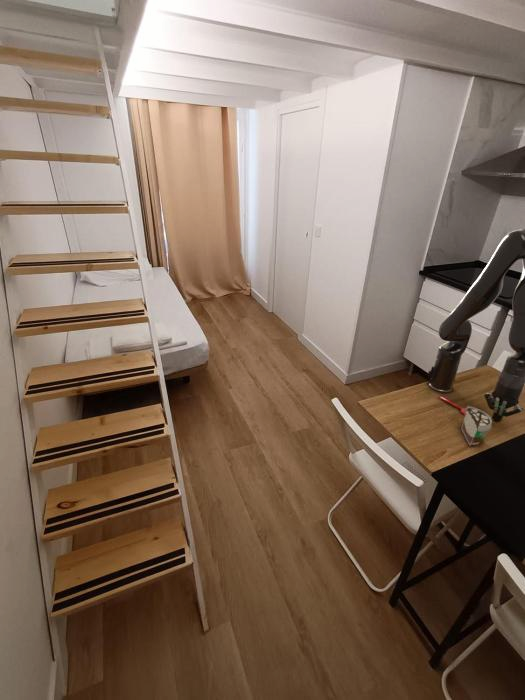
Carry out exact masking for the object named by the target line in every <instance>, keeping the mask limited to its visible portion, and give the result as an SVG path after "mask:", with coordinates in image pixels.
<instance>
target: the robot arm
mask: <svg viewBox="0 0 525 700" xmlns="http://www.w3.org/2000/svg"><path fill="white" fill-rule="evenodd" d="M519 260H521V262H522V271H521V275H520V278H519V280H518V282H517V285H516V287H515V289H514V292H513V296H512V321H511V325H510V328H509V332H508V345H509V346H510V348H511V349H512V350H513V351H514V352H512V353H511V354H509V355H508V356H507V358H506V359H505V362H504V365H503V367H502V370H501V371H500V374H499V376H498V378H497V382H496V384H495V387H494V390H493V391H492V392H487V393H484V396H483V397H484V399H485V401H486V404H487V405H488V408H489V409H490V410H492V411H493V414H492V416H491V420H492V422H494V423H496V424H497V423H500V422H502V421H503V419H504V417H505V418H507V417H511V416H513V415H517V414H519V413H522V412H523V411H524V408H523V407H521V406H520V405H519V398H520V396H521V393H522V391H523V389H524V386H525V228H523V229H516V230H512V231H510V232H508V233H507V234H506V235H505V236H504V237H503V238H502V239H501V241H500V242H499V244H498V245H497V247H496V248H495V251H494V253H493V254H492V255H491V258H490V259H489V261H488V262H487V264H486V266H485V267H484V268H483V270H482V271H481V273H480V274H479V276H478V277H477V278H476V279H475V281H474V282H473V283H472V284H471V286H469V289H468V290H467V292H466V293H465V294H464V296H463V297H462V299H461V300H460V301H459V302H458V303H457V304H456V307H454V308H453V310H452V311H451V312H450V313H449V314H448V316H446V318H445V319H443V320H442V321H441V324H440V325H439V328H438V336H439V339H441V340H442V341H445V343H442V344H441V345H439V347H438V350H437V354H436V358H435V361H434V365H432V366H431V369H430V370H428V373H427V376H428V381H427V385H428V386H429V387H430V389H432V390H433V391H436V392H439V393H450V392H452V391H453V386H454V383H455V382H456V376H457V373H458V369H459V366H460V363H461V360H462V356H463V354H464V353H465V352H466V350H467V347H468V344H469V342H470V339H471V336H472V332H473V325H472V323H471V322H470V320H469V319H471V318H473V317H475V316H476V315H479V314H480V313H482V312H483V311H485V310H486V309H488V308H489V307H490V306H491V305H493V303H494V301H496V299H497V298H498V297H499V295H500V294H501V293H502V289H503V287H504V277H505V275H506V274H507V272H508V271H509V270H510V268H511V267H512V266H513V265H514V264H515V263H516V262H517V261H519ZM509 408H510V409H511V408H512V409H511V410H510V411H508V409H509Z"/></svg>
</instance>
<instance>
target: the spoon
mask: <svg viewBox="0 0 525 700" xmlns="http://www.w3.org/2000/svg"><path fill="white" fill-rule="evenodd" d="M439 399H440V400H442V401H444V402H445V403H447V404H449V405H450V406H453V407H455V408H456V409H458V410H460V413H461V414H462V415H464V416H465V414H466V408H467V407H462V406H460V405H458V404H456V403H455V402H453V401H451V400H449V399H447V398H445V397H444V396H439Z"/></svg>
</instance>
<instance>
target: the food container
mask: <svg viewBox="0 0 525 700" xmlns="http://www.w3.org/2000/svg"><path fill="white" fill-rule="evenodd" d="M465 408H466V414H465V415H464V418H463V421H462V425H461V431H462V433H463V435H464V437H465V439H466V442H467V443H468V445H469V447H477V446H479V445H481V443H482V441H483V439H484V437H485V435H486V434H487V432H488V431H490V430H491V429H492V426H493V425H492V424H493V420H492V417H491V416H490V415H489V414H488V413H486V412H485V411H484V410H482V409H479V408H477V407H474V406H469V405H468V406H467V407H465Z"/></svg>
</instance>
